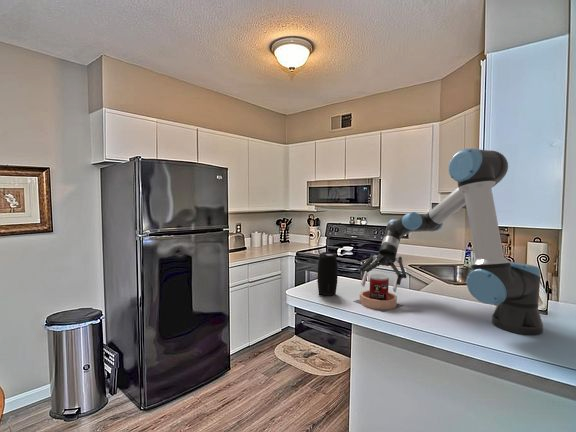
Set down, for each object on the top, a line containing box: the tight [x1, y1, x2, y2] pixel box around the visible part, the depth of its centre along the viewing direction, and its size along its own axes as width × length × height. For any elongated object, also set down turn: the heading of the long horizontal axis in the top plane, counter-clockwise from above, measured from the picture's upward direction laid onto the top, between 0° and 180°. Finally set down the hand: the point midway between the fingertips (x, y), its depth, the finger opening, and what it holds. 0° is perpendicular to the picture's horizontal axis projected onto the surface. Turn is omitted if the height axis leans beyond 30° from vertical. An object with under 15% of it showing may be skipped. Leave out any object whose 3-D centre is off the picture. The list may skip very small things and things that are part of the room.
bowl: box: [359, 289, 398, 310], centre depth 140 cm, size 15×15×4 cm
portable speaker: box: [316, 251, 339, 298], centre depth 151 cm, size 9×9×20 cm
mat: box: [352, 299, 404, 313], centre depth 140 cm, size 16×14×1 cm
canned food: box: [369, 274, 390, 300], centre depth 140 cm, size 8×8×11 cm
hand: (378, 287), depth 139 cm, fingers open, 13 cm apart
